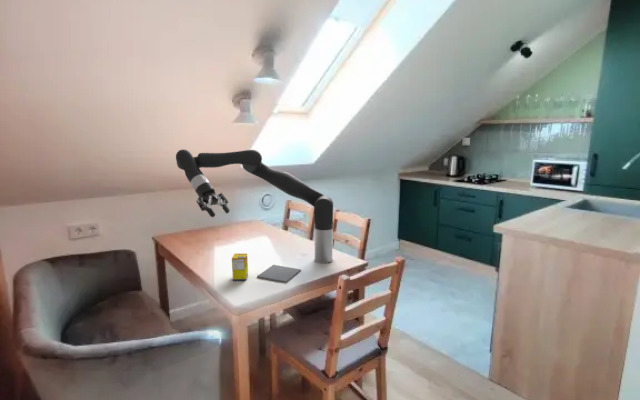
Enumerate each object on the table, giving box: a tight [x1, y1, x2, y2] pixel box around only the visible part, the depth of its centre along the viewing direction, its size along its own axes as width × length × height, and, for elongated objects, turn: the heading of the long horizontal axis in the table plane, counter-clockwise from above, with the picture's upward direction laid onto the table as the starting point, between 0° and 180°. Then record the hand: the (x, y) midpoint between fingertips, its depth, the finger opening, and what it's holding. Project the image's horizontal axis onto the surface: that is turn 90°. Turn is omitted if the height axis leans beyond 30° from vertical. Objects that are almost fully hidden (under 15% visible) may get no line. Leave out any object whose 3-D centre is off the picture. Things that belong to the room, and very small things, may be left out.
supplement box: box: [231, 252, 249, 282], centre depth 166 cm, size 6×6×11 cm
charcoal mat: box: [256, 264, 302, 284], centre depth 172 cm, size 15×15×1 cm
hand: (221, 214), depth 166 cm, fingers open, 8 cm apart
